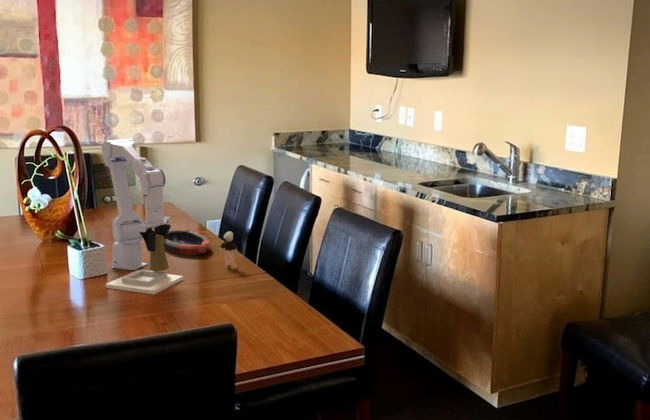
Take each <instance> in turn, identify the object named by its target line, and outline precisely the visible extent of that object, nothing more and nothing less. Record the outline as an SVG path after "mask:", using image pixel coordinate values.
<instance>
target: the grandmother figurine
mask: <svg viewBox="0 0 650 420" xmlns="http://www.w3.org/2000/svg"><path fill="white" fill-rule="evenodd" d="M223 239H225V241H224V242H222V243H221V245H220V247H219V251H220V252H223V249H224V251H225V252H224V261H225V266H224V268H225V269H232V270H234V269H237V268H238V265H237V264H236V262H235V261H236V260H235V255H236V256H237V255H239V252H238V248H237V245H236V244H235V243H234V242H233V240H234V233H233V232H232V231H227V232H226V233H225V234H224V235H223Z"/></svg>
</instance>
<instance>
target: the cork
mask: <svg viewBox="0 0 650 420" xmlns="http://www.w3.org/2000/svg"><path fill="white" fill-rule="evenodd" d="M164 243H165V238H164V237H163V236H162V235H156V239H155V251H154V252H151V251H149V253H150V256H149V271H157V272H163V271H166V270H168V269H169V262H168V258H167V254H166V250H165V247H164Z"/></svg>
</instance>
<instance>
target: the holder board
mask: <svg viewBox="0 0 650 420" xmlns="http://www.w3.org/2000/svg"><path fill="white" fill-rule="evenodd" d="M183 280H184V276H183V275H177V274H169V273H167V272H163V271H151V270H150V269H149V270H148V269H140V270H139V269H136V270H133V272H130V273H128V274H125V275H123V276H121V277H119V278H116V279H114V280H112V281H109V282H106V283H105V288H107V289H112V290H113V289H114V290H120V291H127V292H133V293H134V292H135V293H142V294H147V295H156V294H158V293H160V292H162V291H164V290H166V289H167V288H168V289H169V288H170V287H171V286H173V285H175V284H178V283H180V282H182V281H183Z"/></svg>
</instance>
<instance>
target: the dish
mask: <svg viewBox="0 0 650 420" xmlns="http://www.w3.org/2000/svg"><path fill="white" fill-rule="evenodd" d="M210 244H211V242H210V240H209V239H208V238H207V237H206V236H204V235H202V234H200V233H197V232H194V231H191V230H190V229H186V230H181V229H179V230H178V229H175V230H169V232H168V234H167V238H166V242H165V247H164V248H166V249H168V250H169V251H171V252H173V253H176V254H180V255H189V256H194V255H195V256H196V255H203V254H206V252H207V250H208V248H209V246H210Z"/></svg>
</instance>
